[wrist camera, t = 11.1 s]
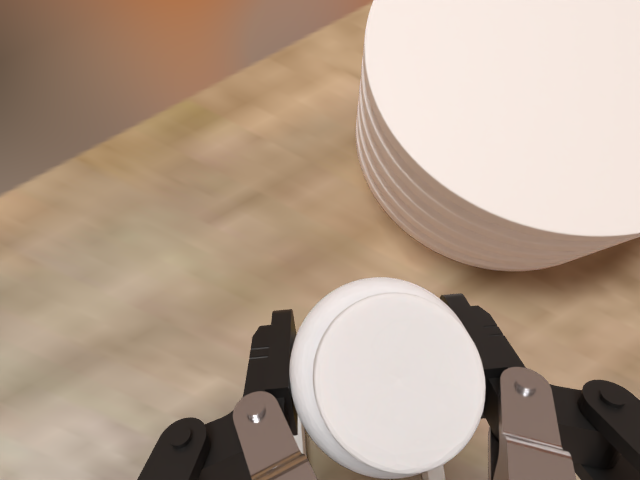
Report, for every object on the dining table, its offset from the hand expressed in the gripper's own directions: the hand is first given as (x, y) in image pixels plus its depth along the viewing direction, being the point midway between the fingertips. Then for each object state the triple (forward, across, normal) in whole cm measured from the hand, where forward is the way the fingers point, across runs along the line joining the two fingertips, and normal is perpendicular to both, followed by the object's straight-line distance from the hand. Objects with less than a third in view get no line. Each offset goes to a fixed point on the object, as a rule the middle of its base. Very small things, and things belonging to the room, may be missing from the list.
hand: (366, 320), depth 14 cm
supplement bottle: (+2, 0, +5) cm, 5 cm away
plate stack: (+26, -17, +1) cm, 31 cm away
